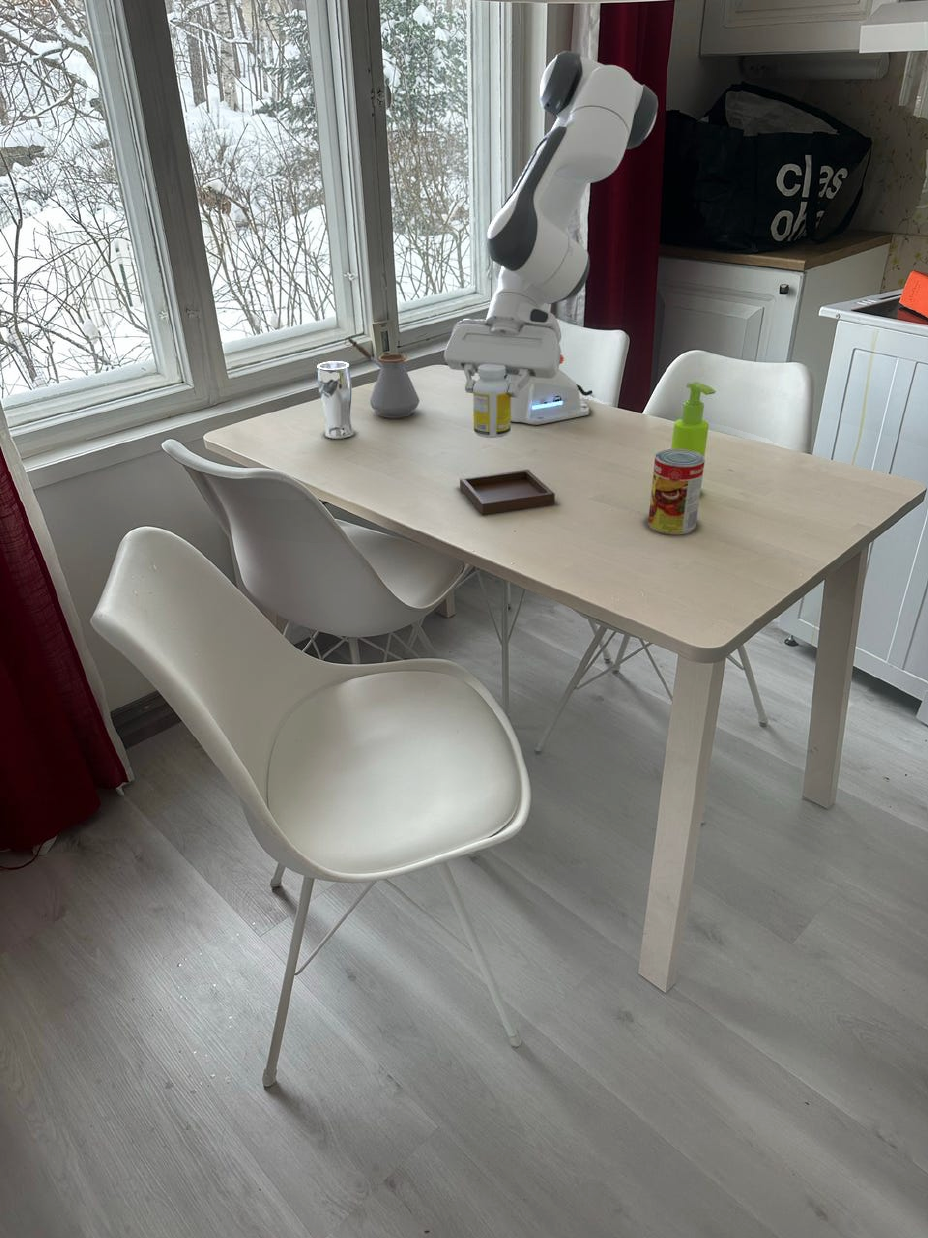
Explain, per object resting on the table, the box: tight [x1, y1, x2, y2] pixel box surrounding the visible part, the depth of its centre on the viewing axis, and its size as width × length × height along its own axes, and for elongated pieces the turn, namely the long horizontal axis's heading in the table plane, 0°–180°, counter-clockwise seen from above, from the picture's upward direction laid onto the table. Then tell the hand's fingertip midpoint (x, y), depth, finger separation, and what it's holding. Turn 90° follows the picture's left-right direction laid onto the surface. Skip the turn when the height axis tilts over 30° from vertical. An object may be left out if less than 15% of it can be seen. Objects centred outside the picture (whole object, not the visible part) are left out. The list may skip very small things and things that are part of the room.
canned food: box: [647, 448, 706, 535], centre depth 142 cm, size 8×8×12 cm
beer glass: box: [316, 361, 354, 440], centre depth 184 cm, size 7×7×15 cm
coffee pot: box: [344, 337, 420, 419], centre depth 199 cm, size 21×12×15 cm, turn 47°
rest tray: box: [459, 469, 555, 516], centre depth 156 cm, size 14×13×2 cm
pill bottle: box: [472, 364, 512, 439], centre depth 148 cm, size 6×6×12 cm
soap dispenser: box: [670, 382, 717, 457], centre depth 151 cm, size 6×7×20 cm
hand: (490, 393), depth 147 cm, fingers closed on pill bottle, 6 cm apart
